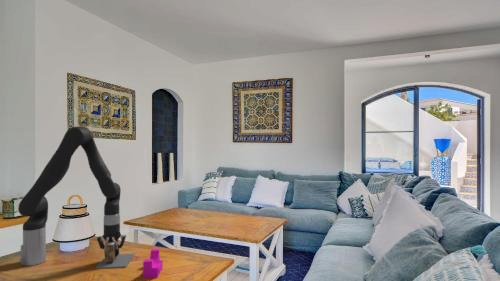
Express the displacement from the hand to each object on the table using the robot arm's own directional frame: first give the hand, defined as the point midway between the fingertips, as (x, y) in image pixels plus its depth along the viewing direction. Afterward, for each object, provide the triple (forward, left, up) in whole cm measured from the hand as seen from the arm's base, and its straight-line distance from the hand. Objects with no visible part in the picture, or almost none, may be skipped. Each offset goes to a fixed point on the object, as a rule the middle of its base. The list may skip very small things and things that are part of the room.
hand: (111, 256), depth 149 cm
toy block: (+24, -13, -3) cm, 27 cm away
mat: (+2, 0, -3) cm, 4 cm away
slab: (0, 0, -1) cm, 1 cm away
